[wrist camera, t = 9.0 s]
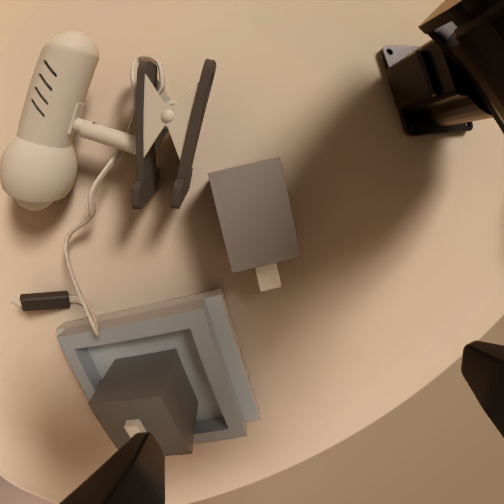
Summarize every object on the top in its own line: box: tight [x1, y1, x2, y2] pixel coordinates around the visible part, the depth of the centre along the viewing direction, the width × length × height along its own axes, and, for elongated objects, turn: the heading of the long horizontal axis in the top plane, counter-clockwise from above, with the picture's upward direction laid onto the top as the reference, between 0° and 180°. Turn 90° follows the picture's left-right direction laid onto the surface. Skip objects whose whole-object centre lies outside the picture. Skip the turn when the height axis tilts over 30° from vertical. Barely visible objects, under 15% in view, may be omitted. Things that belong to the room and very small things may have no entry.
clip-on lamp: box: [0, 31, 216, 337], centre depth 15 cm, size 12×6×18 cm
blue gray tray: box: [56, 288, 260, 444], centre depth 19 cm, size 12×10×3 cm
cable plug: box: [208, 157, 301, 292], centre depth 17 cm, size 4×7×4 cm, turn 13°
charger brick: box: [88, 348, 198, 456], centre depth 16 cm, size 4×4×6 cm
